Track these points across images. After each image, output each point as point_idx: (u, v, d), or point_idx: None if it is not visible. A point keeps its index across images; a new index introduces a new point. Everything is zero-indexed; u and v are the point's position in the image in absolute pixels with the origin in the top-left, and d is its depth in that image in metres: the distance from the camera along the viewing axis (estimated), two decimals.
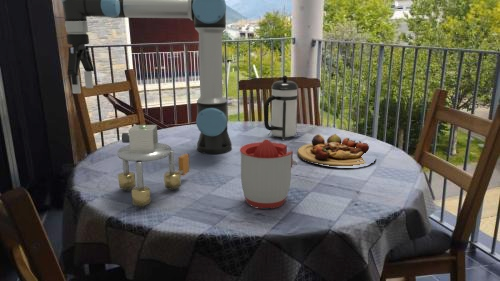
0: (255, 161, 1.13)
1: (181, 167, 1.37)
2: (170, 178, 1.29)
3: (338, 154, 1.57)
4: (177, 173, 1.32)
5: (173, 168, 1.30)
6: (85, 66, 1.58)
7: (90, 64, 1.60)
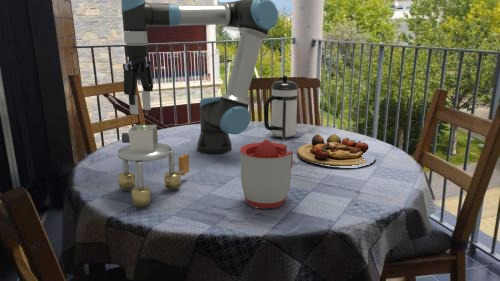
0: (255, 161, 1.13)
1: (181, 167, 1.37)
2: (170, 178, 1.29)
3: (338, 154, 1.57)
4: (177, 173, 1.32)
5: (173, 168, 1.30)
6: (143, 84, 1.42)
7: (150, 82, 1.44)
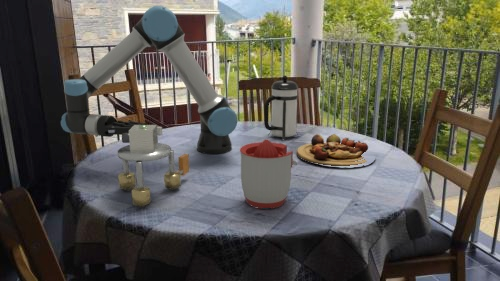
0: (255, 161, 1.13)
1: (181, 167, 1.37)
2: (170, 178, 1.29)
3: (337, 154, 1.57)
4: (177, 173, 1.32)
5: (173, 168, 1.30)
6: None
7: (140, 124, 1.42)
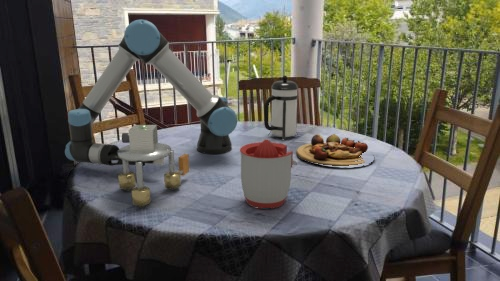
0: (255, 161, 1.13)
1: (181, 167, 1.37)
2: (170, 178, 1.29)
3: (337, 154, 1.57)
4: (177, 173, 1.32)
5: (173, 168, 1.30)
6: None
7: None
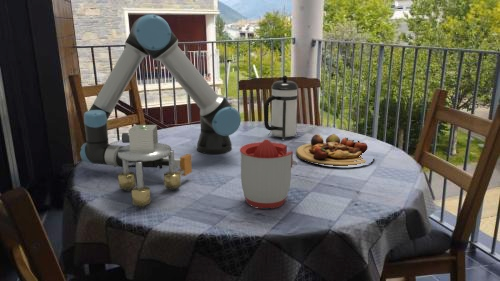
0: (255, 161, 1.13)
1: (183, 167, 1.37)
2: (169, 178, 1.29)
3: (337, 154, 1.57)
4: (177, 173, 1.31)
5: (173, 168, 1.30)
6: None
7: None
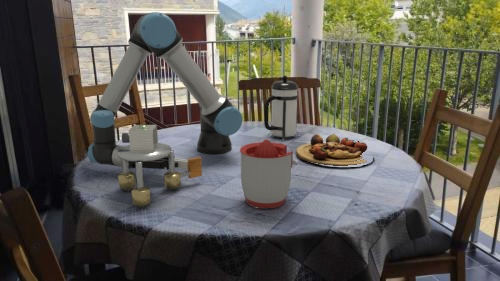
0: (255, 161, 1.13)
1: (189, 169, 1.35)
2: (166, 177, 1.29)
3: (336, 154, 1.57)
4: (176, 174, 1.31)
5: (172, 168, 1.30)
6: None
7: (167, 156, 1.41)
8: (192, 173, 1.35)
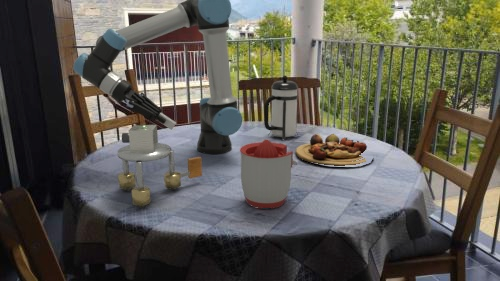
0: (255, 161, 1.13)
1: (189, 169, 1.35)
2: (166, 177, 1.29)
3: (336, 153, 1.57)
4: (176, 174, 1.31)
5: (172, 168, 1.30)
6: None
7: (154, 106, 1.43)
8: (192, 173, 1.35)
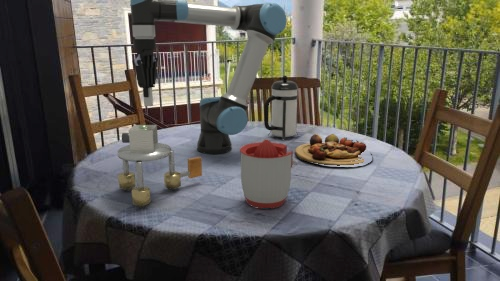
0: (255, 161, 1.13)
1: (189, 169, 1.35)
2: (166, 177, 1.29)
3: (335, 153, 1.57)
4: (176, 174, 1.31)
5: (172, 168, 1.30)
6: None
7: (153, 77, 1.44)
8: (192, 173, 1.35)
